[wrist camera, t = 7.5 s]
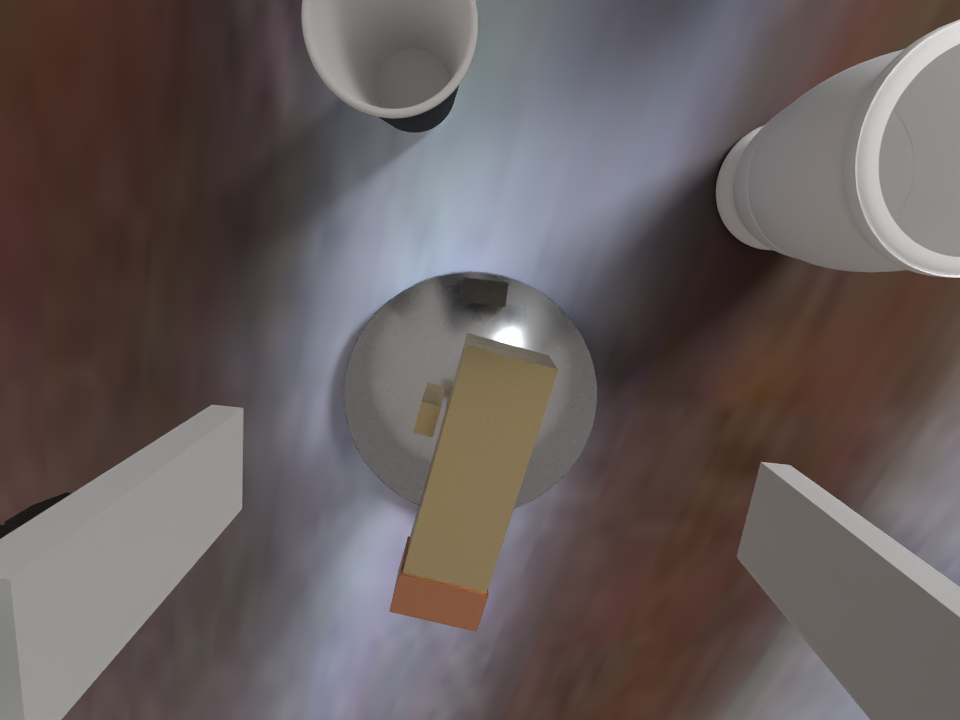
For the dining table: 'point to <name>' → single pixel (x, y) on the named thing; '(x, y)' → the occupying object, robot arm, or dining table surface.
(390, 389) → the post base
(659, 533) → the dining table surface
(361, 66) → the dixie cup
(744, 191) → the jar
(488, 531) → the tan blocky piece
